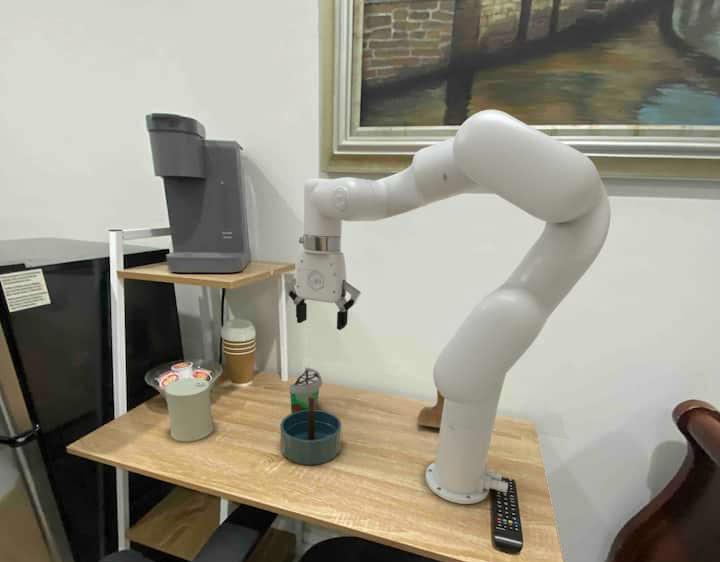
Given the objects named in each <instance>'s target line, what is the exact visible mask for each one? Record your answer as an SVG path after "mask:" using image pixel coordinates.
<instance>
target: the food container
mask: <svg viewBox="0 0 720 562" xmlns="http://www.w3.org/2000/svg"><path fill="white" fill-rule="evenodd" d="M322 385H323V379H322V376H321V374H320V372H319V371H317V370H316V369H314V368H311V367H306V366H305V367H304V372H303V373H302V374H301V375H300V376H299V377H298V378H297V379H296V381H295V382H294V383H293V384H289V394H290V408H291V410H290V411H291V412H290V413H291V414H292V413H294V412H298V411H302V410H308V397H309V396H310V395H313V396H315V410H318V406H319V395H320V394H319V393H320V388H321V387H322Z"/></svg>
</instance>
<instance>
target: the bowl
mask: <svg viewBox="0 0 720 562" xmlns="http://www.w3.org/2000/svg"><path fill="white" fill-rule="evenodd" d="M342 427H343V425H342V421H341V419H340V418H339V417H338V416H337V415H335V414H333V413H332V412H329V411H326V410H321V409H317V410H315V436H317V437H319V438H320V439H318V440H302V439H303V438H304V437H306V436H308V410H302V411H298V412H294V413H292V412H291V413H289V414H288V415H286V416H285V417H284V418H283V419H282V420H281V422H280V424H279V431H280V452H281V453H282V454H283V456H284V457H285V458H286V459H287V460H288V461H291V462H293V463H295V464H298V465H302V466H303V465H304V466H316V465H321V464H322V465H323V464H324V463H328V462H330V461H332V460H333V459H334V458H336V456H337V455H338V453H339V452H340V451H341V448H342V447H341V446H342V429H343V428H342Z"/></svg>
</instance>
